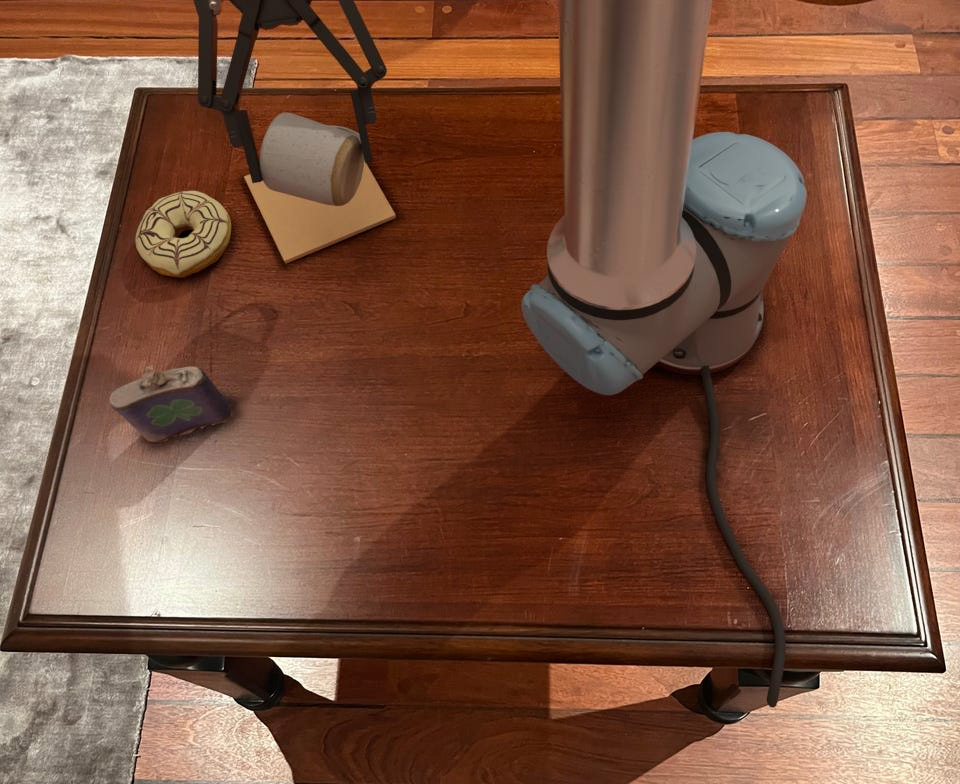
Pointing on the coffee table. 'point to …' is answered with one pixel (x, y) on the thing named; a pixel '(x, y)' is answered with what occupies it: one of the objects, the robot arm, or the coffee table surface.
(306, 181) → the ceramic mug
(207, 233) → the decorated donut
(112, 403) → the flask
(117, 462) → the coffee table surface
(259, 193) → the cork mat
